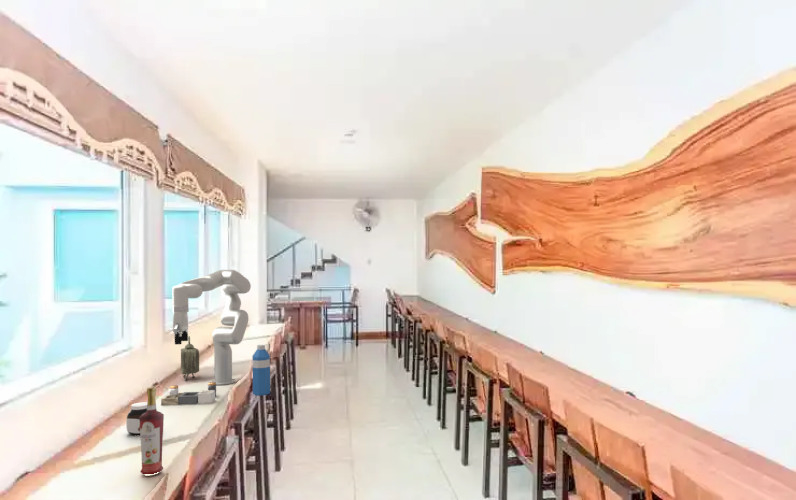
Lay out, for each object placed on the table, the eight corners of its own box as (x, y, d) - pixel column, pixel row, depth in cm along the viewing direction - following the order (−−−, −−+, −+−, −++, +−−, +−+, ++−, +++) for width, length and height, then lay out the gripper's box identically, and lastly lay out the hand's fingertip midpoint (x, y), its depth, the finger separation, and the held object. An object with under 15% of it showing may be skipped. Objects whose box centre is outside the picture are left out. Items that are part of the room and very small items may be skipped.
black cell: (209, 395, 291) (209, 382, 291) (217, 395, 291) (217, 382, 291) (206, 397, 287) (206, 383, 287) (214, 397, 287) (214, 383, 287)
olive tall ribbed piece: (181, 377, 338) (180, 335, 338) (197, 375, 342) (196, 334, 342) (182, 382, 325) (182, 338, 325) (199, 380, 328) (199, 337, 329)
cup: (202, 400, 281) (202, 390, 281) (215, 400, 281) (215, 390, 281) (198, 403, 275) (197, 393, 275) (211, 403, 275) (211, 393, 275)
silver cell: (171, 399, 282) (171, 385, 282) (179, 399, 282) (179, 385, 282) (168, 401, 278) (168, 387, 278) (176, 401, 278) (176, 387, 278)
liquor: (167, 469, 189) (166, 385, 190) (159, 477, 182) (158, 390, 182) (145, 469, 189) (144, 385, 189) (135, 478, 182) (135, 390, 182)
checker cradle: (184, 399, 283) (184, 392, 283) (202, 399, 283) (202, 391, 283) (177, 404, 274) (177, 396, 274) (196, 404, 274) (196, 396, 274)
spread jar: (124, 437, 225) (124, 407, 225) (130, 428, 236) (130, 400, 236) (157, 434, 228) (157, 405, 228) (161, 426, 239) (161, 398, 239)
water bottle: (273, 391, 299) (272, 343, 299) (267, 395, 290) (266, 346, 290) (255, 391, 300) (255, 343, 300) (249, 395, 291) (249, 346, 291)
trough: (170, 398, 285) (170, 392, 285) (186, 398, 286) (186, 392, 286) (161, 405, 273) (161, 398, 273) (177, 404, 274) (177, 398, 274)
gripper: (179, 307, 299) (179, 340, 299) (167, 311, 282) (167, 345, 282) (193, 307, 299) (194, 339, 299) (182, 311, 282) (183, 345, 282)
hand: (181, 342), depth 291 cm, fingers open, 9 cm apart
